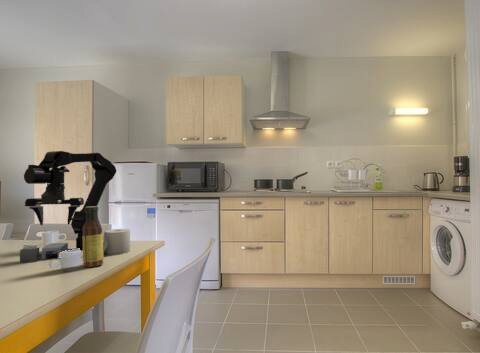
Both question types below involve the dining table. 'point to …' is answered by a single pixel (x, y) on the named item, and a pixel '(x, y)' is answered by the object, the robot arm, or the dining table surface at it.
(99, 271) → the dining table surface
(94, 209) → the sauce bottle
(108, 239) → the toilet tissue
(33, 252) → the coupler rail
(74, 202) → the robot arm
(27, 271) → the dining table surface
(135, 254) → the dining table surface
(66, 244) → the block
